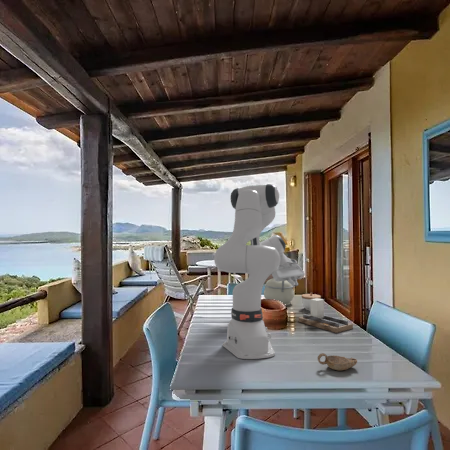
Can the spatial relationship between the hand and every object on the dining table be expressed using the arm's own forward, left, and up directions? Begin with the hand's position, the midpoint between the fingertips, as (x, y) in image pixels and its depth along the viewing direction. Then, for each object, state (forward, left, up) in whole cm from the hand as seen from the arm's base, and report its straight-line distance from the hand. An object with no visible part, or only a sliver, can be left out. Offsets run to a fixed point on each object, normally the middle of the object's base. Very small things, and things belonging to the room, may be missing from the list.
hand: (295, 285), depth 179 cm
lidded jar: (+14, -15, -16) cm, 26 cm away
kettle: (+34, -3, -16) cm, 38 cm away
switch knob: (-13, -6, -14) cm, 20 cm away
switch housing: (-17, -7, -16) cm, 24 cm away
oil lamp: (-64, +14, -16) cm, 68 cm away
